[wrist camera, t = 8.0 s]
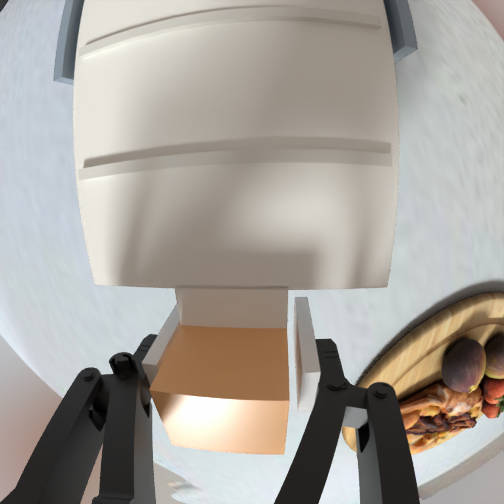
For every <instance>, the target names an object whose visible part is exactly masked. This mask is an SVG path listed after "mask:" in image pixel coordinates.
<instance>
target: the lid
mask: <svg viewBox="0 0 504 504" xmlns="http://www.w3.org/2000/svg"><path fill="white" fill-rule="evenodd" d="M73 141H74V159H75V172H76V182H77V191H78V199H79V206H80V213H81V220H82V226H83V232H84V237H85V242H86V247H87V252H88V257H89V262H90V266H91V270H92V275H93V279H94V283H95V285H112V286H131V287H154V288H175V294H176V300H177V306H178V311H179V317H180V322H181V326H180V328H179V330H178V332H177V334H176V336H175V338H174V340H173V342H172V344H171V346H170V348H169V350H168V352H167V354H166V356H165V358H164V360H163V362H162V364H161V366H160V368H159V370H158V373H157V375H156V377H155V379H154V381H153V383H152V385H151V387H150V389H149V391H150V393H151V396H152V398H153V401H154V403H155V406H156V408H157V411H158V413H159V416H160V418H161V420H162V423H163V425H164V427H165V429H166V432H167V434H168V436H169V438H170V440H171V442H172V444H173V445H176V446H181V447H188V448H194V449H202V450H210V451H219V452H230V453H245V454H284V451H285V442H286V433H287V423H288V412H289V401H290V400H289V367H288V341H287V311H288V290H310V289H355V288H383V287H387V285H388V279H389V273H390V267H391V260H392V252H393V244H394V236H395V226H396V215H397V202H398V185H399V113H398V96H397V84H396V74H395V65H394V57H393V50H392V43H391V37H390V31H389V26H388V21H387V16H386V11H385V6H384V2H383V0H85V1H84V5H83V10H82V16H81V21H80V28H79V34H78V42H77V50H76V59H75V71H74V88H73Z"/></svg>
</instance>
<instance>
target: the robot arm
mask: <svg viewBox="0 0 504 504" xmlns="http://www.w3.org/2000/svg"><path fill="white" fill-rule="evenodd" d="M6 2H7V0H0V11H1V9H2V8H3V6H4V5H5V3H6ZM180 326H181V322H180V317H179V311H178V306H177V304H176V305H175V307H174V309H173V310H172V312H171V314H170V315H169V317H168V319H167V320H166V322H165V324H164V326H163V327H162V329H161V331H160V332H159V334H158V335H155V334H150V335H148V336H147V337H146V338H144V339H143V341H142V342H141V344H140V346H139V347H138V349H137V350H136V352H135V353H134V355H132V354H130V353H126V352H122V353H118V354H115V355H114V356H112V357H111V358H110V360H109V363H110V366H111V368H112V371H113V373H114V374H106V375H101V374H100V371H99V370H98V369H96V368H86V369H84V370H82V371H81V372H80V373H79V374H78V375H77V377H76V379H75V380H74V382H73V383H72V385H71V387H70V388H69V390H68V391H67V393H66V395H65V396H64V398H63V400H62V401H61V403H60V405H59V406H58V408H57V410H56V411H55V413H54V415H53V416H52V418H51V420H50V422H49V424H48V425H47V427H46V429H45V431H44V432H43V434H42V436H41V438H40V440H39V442H38V443H37V445H36V447H35V449H34V451H33V453H32V455H31V457H30V459H29V461H28V463H27V465H26V467H25V469H24V471H23V473H22V475H21V477H20V479H19V481H18V483H17V486H16V488H15V489H14V490H13V491H12V492H11V493H10V494H9V495H8V496H7V497H5V499H3V500H2V501H1V502H0V504H80V502H81V500H82V497H83V494H84V491H85V488H86V485H87V483H88V480H89V477H90V475H91V472H92V469H93V466H94V464H95V461H96V459H97V456H98V454H99V451H100V449H101V446H102V444H103V450H102V461H101V473H100V489H99V495H98V496H97V497H94V498H93V500H92V504H156V499H155V487H154V473H153V472H154V471H153V447H152V404H151V401H150V400H151V398H152V396H151V393H150V391H149V389H150V387H151V385H152V383H153V381H154V379H155V377H156V375H157V373H158V370H159V368H160V366H161V364H162V362H163V360H164V358H165V356H166V354H167V352H168V350H169V348H170V346H171V344H172V342H173V340H174V338H175V336H176V334H177V332H178V330H179V328H180ZM293 339H294V353H295V368H296V385H297V403H298V412H311V411H312V412H311V415H310V418H309V421H308V423H307V426H306V429H305V432H304V434H303V437H302V439H301V442H300V445H299V447H298V450H297V452H296V455H295V457H294V460H293V462H292V464H291V467H290V469H289V471H288V474H287V476H286V478H285V481H284V483H283V485H282V487H281V490H280V492H279V494H278V496H277V498H276V500H275V502H274V504H318V503H319V500H320V497H321V495H322V492H323V489H324V486H325V483H326V480H327V477H328V473H329V470H330V467H331V464H332V460H333V457H334V453H335V450H336V446H337V442H338V439H339V435H340V431H341V427H342V426H345V427H351V428H355V434H356V444H357V456H358V469H359V486H360V504H420V501H419V495H418V489H417V483H416V477H415V472H414V467H413V462H412V457H411V452H410V447H409V443H408V439H407V434H406V430H405V426H404V422H403V418H402V414H401V410H400V407H399V403H398V399H397V396H396V392H395V390H394V388H393V387H392V386H391V385H390V384H388V383H385V382H375V383H373V384H371V385H370V386H369V387H368V388H362V387H357V386H354V385H352V384H350V383H349V381H348V380H347V379H346V378H345V377H344V373H343V369H342V365H341V361H340V358H339V354H338V350H337V346H336V344H335V343H334V342H333V341H332V340H331V339H315V336H314V330H313V325H312V319H311V314H310V309H309V304H308V298H307V297H295V304H294V326H293Z"/></svg>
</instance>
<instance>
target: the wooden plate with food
mask: <svg viewBox="0 0 504 504" xmlns="http://www.w3.org/2000/svg"><path fill="white" fill-rule="evenodd" d="M375 382H385V383H388V384H390V385H391V386H392V387H393V388H394V390H395V392H396V396H397V399H398V403H399V407H400V410H401V414H402V418H403V422H404V426H405V430H406V434H407V439H408V443H409V447H410V452H411V455H413V454H417V453H420V452H423V451H425V450H428V449H430V448H433V447H435V446H437V445H439V444H441V443H443V442H445V441H447V440H449V439H450V438H452V437H454V436H455V435H457V434H459V433H460V432H462V431H463V430H465V429H466V428H471V427H472V428H473V427H474V426H475V424H476V423H477V422H476V420H477V419H478V418H480V417H481V416H482V415H483V414H485V415H486V416H487V417H488V418H496V417H497V418H498V417H499V415H500V413H501V412H503V411H504V293H502V292H488V293H483V294H479V295H476V296H473V297H470V298H467V299H464V300H461V301H459V302H457V303H455V304H453V305H451V306H449V307H447V308H445V309H444V310H442V311H440V312H439V313H437V314H435V315H434V316H432V317H431V318H429V319H428V320H426V321H425V322H423V323H422V324H420V325H419V326H418V327H416V328H415V329H414V330H412V331H411V332H410V333H408V334H407V335H406V336H404V337H403V338H402V339H401V340H400V341H399V342H398V343H396V344H395V345H394V346H393V347H392V348H391V349H390V350H389V351H388V352H387V353H386V354H385V355H384V356H383V357H382V358H381V359H380V360H379V361H378V362H377V363H376V364H375V365H374V366H373V367H372V368H371V370H370V371H369V372H368V373H367V374H366V375H365V376H364V378H363V379H362V381H361V382H360V383H359V385H358V386H357V387H362V388H368V387H369V386H370V385H371V384H373V383H375ZM342 434H343V438H344V440H345V442H346V443H347V444H348V446H349V447H350V448H351V449H352V450H354V451H355V452H357V444H356V434H355V428H351V427H345V426H342ZM357 459H358V456H357Z"/></svg>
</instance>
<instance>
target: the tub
mask: <svg viewBox="0 0 504 504" xmlns="http://www.w3.org/2000/svg"><path fill="white" fill-rule="evenodd" d="M84 1H85V0H66V2H65V6H64V11H63V15H62V20H61V25H60V31H59V37H58V43H57V50H56V58H55V68H54V79H53V81H56V82H61V83H66V84H71V85H74V71H75V59H76V50H77V42H78V34H79V28H80V21H81V16H82V10H83V5H84ZM383 2H384V6H385V11H386V16H387V21H388V26H389V31H390V37H391V43H392V50H393V57H394V64H395V63H397V62H398V61H400V60H401V59H403V58H404V57H406V56H407V55H409V54H411V53H412V52H414V51H415V50H417V49H418V47H417V41H416V36H415V31H414V26H413V21H412V17H411V13H410V9H409V5H408V1H407V0H383Z"/></svg>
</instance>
